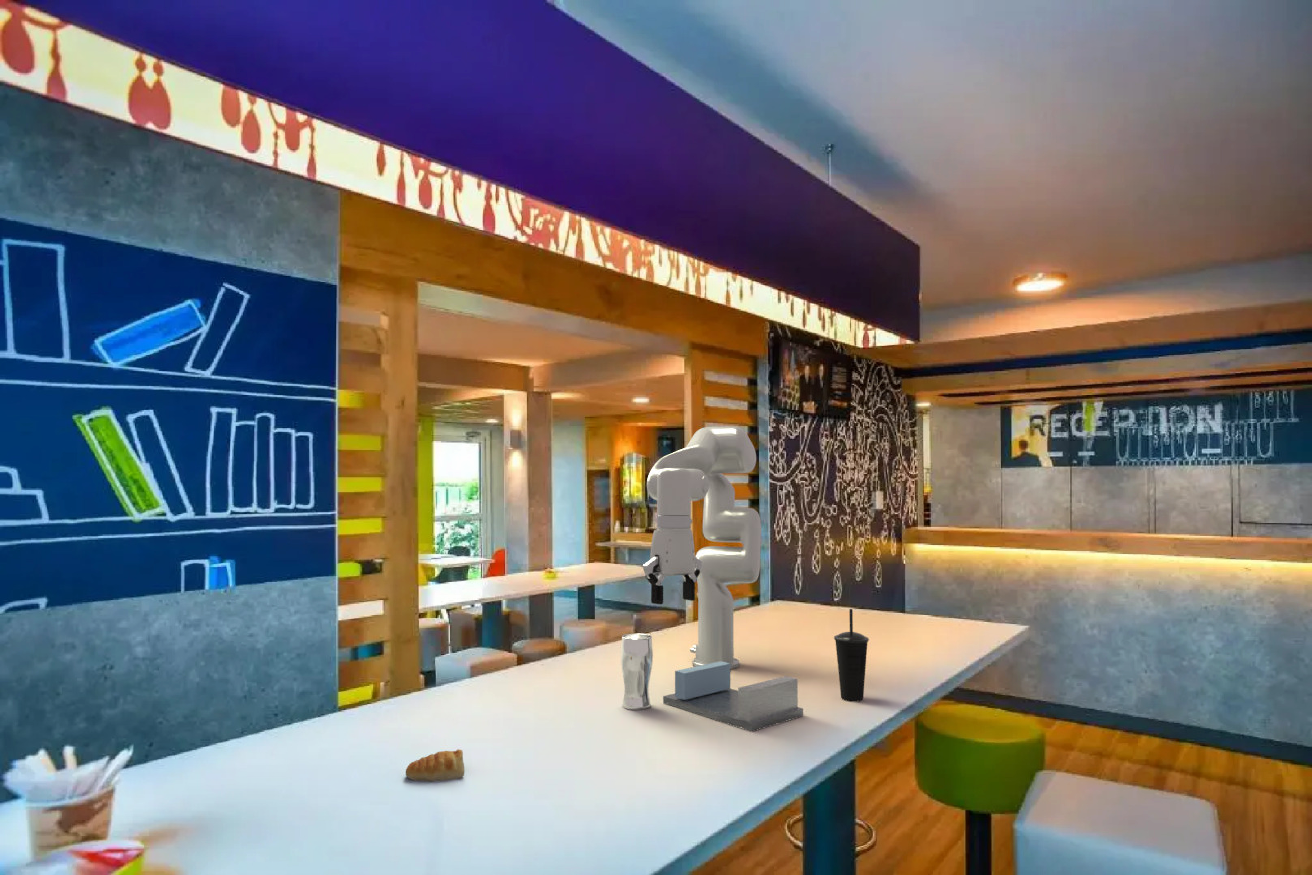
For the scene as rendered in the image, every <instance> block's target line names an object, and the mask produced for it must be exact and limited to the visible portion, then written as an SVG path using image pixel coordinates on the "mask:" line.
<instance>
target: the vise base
mask: <svg viewBox="0 0 1312 875" xmlns="http://www.w3.org/2000/svg"><path fill="white" fill-rule="evenodd" d="M798 682H799V681H798V678H796V677H792V676H787V675H786V676H782V677H781V676H780V677H777V678H773V679H768V680H765V681H761V682H756V683H753V684H749V685H745V686H741V687H738V688H737V690H736V689H733V688H730V689H727V690H723V691H718V692H714V693H710V694H706V695H702V696H698V697H694V698H690V699H686V700H683V699H680V698H677V697H675V692H674V693H672V694H666V695H663V697H662V700H663V704H666V705H668V706H671V707H675V708H677V709H681V710H683V711H686V712H690V713H691V714H692V713H693V714H696V715H699V716H703V717H706V718H708V719H711V718H712V719H711V720H714V719H716V720H715V721H717V720H719V721H718V722H720V721H721V722H720V723H723V722H724V723H725V724H727V723H729V724H728V725H730V724H731V725H730V726H733V725H734V726H733V727H736V726H737V727H736V728H739V727H742V728H744V729H743V730H745V729H746V731H748V730H749V731H748V732H751V731H752V732H754V731H755V732H756V731H758V730H757V729H759V728H762V729H764V728H763V727H765V728H768V727H771V726H770V725H772V726H774V725H773V724H775V725H777V724H776V723H778V724H781V723H784V721H785V722H787V721H786V720H788V721H790V720H789V719H791V720H793V719H792V718H794V719H797V718H796V717H798V718H800V717H799V716H801V717H803V716H804V708H803V707H800V706H798V704H799V702H798V701H799V700H798V699H799V698H798V695H799V694H798V693H799V692H798V689H799V688H798ZM802 715H803V716H802ZM742 728H741V729H742ZM759 730H760V729H759Z"/></svg>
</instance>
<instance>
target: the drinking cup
mask: <svg viewBox="0 0 1312 875" xmlns="http://www.w3.org/2000/svg"><path fill="white" fill-rule="evenodd" d="M848 613H849V631H843V632H841V633H839V634H837V635H834V636H833V640H834V641H835V650H836V660H837V669H838V680H839V690H840V699H841V698H842V699H841V700H843V699H844V700H843V701H846V700H847V701H846V702H852V701H858V702H862V701H863V700H864V695H865V693H864V692H865V691H864V690H865V679H866V667H867V666H866V665H867V653H868V652H867V651H868V643H869V640H870V638H869V637H868V636H865V635H863V634H861V633H859V632H856V631H853V630H854V628H853V627H854V624H853V622H854V621H853V617H854V616H853V615H854V614H853V608H849V612H848Z"/></svg>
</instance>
